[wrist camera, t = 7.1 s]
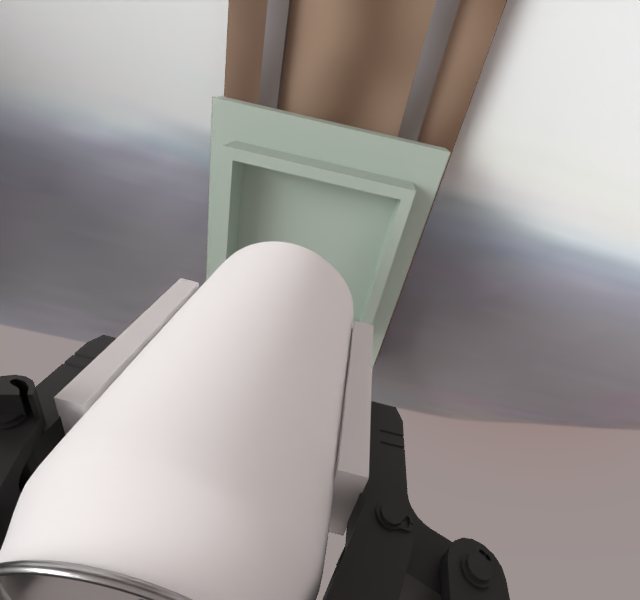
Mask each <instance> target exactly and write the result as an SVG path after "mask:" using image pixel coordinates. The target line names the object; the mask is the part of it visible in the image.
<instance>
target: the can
mask: <svg viewBox="0 0 640 600" xmlns="http://www.w3.org/2000/svg"><path fill="white" fill-rule="evenodd" d="M353 317H354V311H353V300H352V295H351V292H350V290H349V288H348V286H347V284H346V282H345V281H344V279H343V278H342V276H341V275H340V274H339V273H338V272H337V270H336V269H335V268H334V267H333V266H332V265H331V264H329V263H328V262H327V261H326V260H325V259H324V258H322V257H321V256H320V255H318V254H316V253H315V252H313V251H311V250H309V249H307V248H304V247H302V246H299V245H295V244H291V243H286V242H276V241H270V242H261V243H256V244H252V245H249V246H247V247H244V248H242V249H240V250H238V251H237V252H235V253H234V254H233V255H231V256H230V257H229V258H228V259H227V260H226V261H225V262H224V263H223V264H222V265H221V266H220V267H219V268H218V269H217V270H216V271H215V272H214V273H213V274H212V275H211V276H210V277H209V278H208V279H207V281H206V282H205V283H204V284H203V285H202V286H201V287H200V288H199V289H198V290H197V291H196V292H195V293H194V295H193V296H192V297H191V298H190V299H189V300H188V301H187V302H186V303H185V304H184V305H183V307H182V308H181V309H180V310H179V311H178V312H177V313H176V314H175V315H174V316H173V317H172V319H171V320H170V321H169V322H168V323H167V324H166V325H165V326H164V327H163V328H162V329H161V331H160V332H159V333H158V334H157V335H156V336H155V337H154V338H153V339H152V340H151V341H150V343H149V344H148V345H147V346H146V347H145V348H144V349H143V350H142V351H141V352H140V354H139V355H138V356H137V357H136V358H135V359H134V360H133V361H132V362H131V363H130V365H129V366H128V367H127V368H126V369H125V370H124V371H123V372H122V373H121V374H120V376H119V377H118V378H117V379H116V380H115V381H114V382H113V383H112V384H111V385H110V387H109V388H108V389H107V390H106V391H105V392H104V393H103V394H102V395H101V396H100V398H99V399H98V400H97V401H96V402H95V403H94V404H93V405H92V406H91V408H90V409H89V410H88V411H87V412H86V413H85V414H84V415H83V416H82V418H81V419H80V420H79V421H78V422H77V423H76V424H75V425H74V426H73V428H72V429H71V430H70V431H69V432H68V433H67V434H66V435H65V436H64V438H63V439H62V440H61V441H60V442H59V443H58V444H57V446H56V447H55V448H54V449H53V450H52V451H51V453H50V454H49V455H48V456H47V457H46V458H45V459H44V461H43V462H42V463H41V464H40V465H39V466H38V468H37V469H36V470H35V472H34V473H33V474H32V476H31V477H30V478H29V480H28V481H27V483H26V484H25V486H24V488H23V490H22V492H21V495H20V497H19V499H18V502H17V505H16V507H15V510H14V513H13V516H12V519H11V522H10V525H9V528H8V531H7V534H6V537H5V540H4V542H3V545H2V547H1V550H0V600H316V598H317V595H318V592H319V588H320V584H321V579H322V574H323V567H324V560H325V554H326V546H327V540H328V532H329V524H330V516H331V508H332V500H333V492H334V476H335V467H336V459H337V451H338V443H339V434H340V426H341V418H342V410H343V401H344V393H345V385H346V376H347V368H348V359H349V351H350V342H351V334H352V328H353Z"/></svg>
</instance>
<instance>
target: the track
mask: <svg viewBox="0 0 640 600" xmlns="http://www.w3.org/2000/svg"><path fill="white" fill-rule="evenodd" d="M506 2H507V0H229V8H228V29H227V49H226V69H225V89H224V97H227V98H232V99H236V100H240V101H245V102H249V103H253V104H258V105H262V106H266V107H271V108H275V109H279V110H283V111H288V112H292V113H296V114H301V115H305V116H309V117H314V118H318V119H322V120H327V121H331V122H335V123H340V124H344V125H348V126H352V127H357V128H361V129H365V130H370V131H374V132H378V133H383V134H387V135H391V136H396V137H400V138H404V139H409V140H413V141H417V142H421V143H426V144H430V145H434V146H439V147H443V148H446V149H447V150H448V151H450V152H451V153H452V151H453V148H454V145H455V142H456V140H457V137H458V134H459V131H460V129H461V126H462V123H463V120H464V117H465V115H466V112H467V109H468V106H469V104H470V101H471V98H472V95H473V93H474V90H475V87H476V84H477V82H478V79H479V76H480V73H481V71H482V68H483V65H484V62H485V60H486V57H487V54H488V51H489V48H490V46H491V43H492V40H493V37H494V35H495V32H496V29H497V26H498V24H499V21H500V18H501V15H502V13H503V10H504V7H505V4H506ZM451 153H450V155H449V158H448V161H447V164H448V162H449V159H450V156H451ZM447 164H446V166H445V169H444V172H443V175H444V173H445V170H446V167H447ZM443 175H442V178H443ZM442 178H441V180H440V183H439V186H440V184H441V181H442ZM439 186H438V189H439ZM438 189H437V191H436V194H435V197H436V195H437V192H438ZM435 197H434V200H435ZM434 200H433V203H434ZM433 203H432V205H431V208H430V211H431V209H432V206H433ZM430 211H429V214H430ZM429 214H428V216H427V219H426V222H427V220H428V217H429ZM426 222H425V225H426ZM425 225H424V227H423V230H422V233H423V231H424V228H425ZM422 233H421V236H422ZM421 236H420V239H421ZM420 239H419V241H418V244H419V242H420ZM418 244H417V247H418ZM417 247H416V250H417ZM416 250H415V252H414V255H415V253H416ZM414 255H413V258H414ZM413 258H412V261H413ZM412 261H411V264H412ZM411 264H410V266H411ZM410 266H409V269H410ZM409 269H408V272H409ZM408 272H407V275H408ZM407 275H406V277H405V280H406V278H407ZM405 280H404V283H405ZM404 283H403V286H404ZM403 286H402V288H401V291H402V289H403ZM401 291H400V294H401ZM400 294H399V297H400ZM399 297H398V300H399ZM398 300H397V302H398ZM397 302H396V305H397ZM396 305H395V308H396ZM395 308H394V311H395ZM394 311H393V313H394ZM393 313H392V316H393ZM392 316H391V319H392ZM391 319H390V322H391ZM390 322H389V324H390ZM388 327H389V325H388ZM388 327H387V330H388ZM387 330H386V333H387ZM386 333H385V335H386ZM384 338H385V336H384ZM384 338H383V341H384ZM383 341H382V344H383ZM382 344H381V347H382ZM381 347H380V349H381ZM380 349H379V352H380ZM379 352H378V355H379ZM378 355H377V358H378ZM377 358H376V360H377ZM375 363H376V361H375ZM375 363H374V364H375Z"/></svg>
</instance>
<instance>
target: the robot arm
mask: <svg viewBox="0 0 640 600" xmlns="http://www.w3.org/2000/svg"><path fill="white" fill-rule="evenodd" d="M198 289H199V282H195V281H191V280H187V279H182V278H180V279H179V280H178V281H177V282H176V283H175V284H174V285H173V286H172V287H170V288H169V289H168V290H167V291H166V292H165V293H164V294H163V295H162V296H161V297H160V298H159V299H158V300H157V301H156V302H155V303H154V304H152V305H151V306H150V307H149V308H148V309H147V310H146V311H145V312H144V313H143V314H142V315H141V316H140V317H139V318H138V319H137V320H135V321H134V322H133V323H132V324H131V325H130V326H129V327H128V328H127V329H126V330H125V331H124V332H123V333H122V334H121V335H120V336H118V337H117V338H114V337H110V336H106V335H102V336H100V337H98V338H96V339H94V340H92V341H89V342H87V343H86V344H85V345H84V346H83V347H82V348H80V349H79V350H78V351H77V352H76V353H75V355H72V356H71V357H70V358H69V359H68V360H66V361H65V363H64V364H62V365H61V366H60V367H58V368H57V369H56V370H55V371H54V372H52V373H51V374H50V375H49V376H48V377H47V378H45V379H44V380H43V381H42V382H41V383H40V384H38V385H37V386H36V387H35V385H34V382H33V381H32V380H31V379H29V378H27V377H25V376H18V375H9V376H1V377H0V550H1V547H2V545H3V542H4V540H5V537H6V534H7V531H8V528H9V525H10V522H11V519H12V516H13V513H14V510H15V507H16V505H17V502H18V499H19V497H20V495H21V492H22V490H23V488H24V486H25V484H26V483H27V481H28V480H29V478H30V477H31V476H32V474H33V473H34V472H35V470H36V469H37V468H38V466H39V465H40V464H41V463H42V462H43V461H44V459H45V458H46V457H47V456H48V455H49V454H50V453H51V451H52V450H53V449H54V448H55V447H56V446H57V444H58V443H59V442H60V441H61V440H62V439H63V438H64V436H65V435H66V434H67V433H68V432H69V431H70V430H71V429H72V428H73V426H74V425H75V424H76V423H77V422H78V421H79V420H80V419H81V418H82V416H83V415H84V414H85V413H86V412H87V411H88V410H89V409H90V408H91V406H92V405H93V404H94V403H95V402H96V401H97V400H98V399H99V398H100V396H101V395H102V394H103V393H104V392H105V391H106V390H107V389H108V388H109V387H110V385H111V384H112V383H113V382H114V381H115V380H116V379H117V378H118V377H119V376H120V374H121V373H122V372H123V371H124V370H125V369H126V368H127V367H128V366H129V365H130V363H131V362H132V361H133V360H134V359H135V358H136V357H137V356H138V355H139V354H140V352H141V351H142V350H143V349H144V348H145V347H146V346H147V345H148V344H149V343H150V341H151V340H152V339H153V338H154V337H155V336H156V335H157V334H158V333H159V332H160V331H161V329H162V328H163V327H164V326H165V325H166V324H167V323H168V322H169V321H170V320H171V319H172V317H173V316H174V315H175V314H176V313H177V312H178V311H179V310H180V309H181V308H182V307H183V305H184V304H185V303H186V302H187V301H188V300H189V299H190V298H191V297H192V296H193V295H194V293H195V292H196V291H197V290H198ZM372 357H373V325H370V324H366V323H362V322H357V321H355V322H354V325H353V328H352V334H351V342H350V351H349V359H348V368H347V376H346V385H345V393H344V401H343V410H342V418H341V426H340V434H339V443H338V451H337V459H336V467H335V476H334V492H333V500H332V508H331V516H330V524H329V532H332V533H336V534H340V535H344V532H345V530H346V528H347V532H346V545H345V547H344V550H343V552H342V554H341V556H340V558H339V560H338V563H337V564H336V565H337V566H336V568H335V571H334V573H333V576H332V578H331V581H330V583H329V585H328V588H327V590H326V592H325V595H324V597H323V600H510V599H509V593H508V588H507V583H506V578H505V575H504V573H503V569H502V567H501V565H500V564H499V562H498V560H497V559H496V557H495V556H494V554H493V553H492V552H490V551H489V550H488V549H487V548H486V547H485V546H484V545H483V544H481V543H479V542H477V541H475V540H473V539H468V538H461V539H458V540H455V541H454V542H451V541H450V540H448V539H446V538H445V537H443V536H441V535H440V534H438V533H437V532H435V531H433V530H432V529H430V528H429V527H428V526H426V525H425V524H424V523H423V522H422V521H421V520H420V519H419V518H418V517H417V515H416V514H415V512H414V511H413V509H412V507H411V505H410V503H409V500H408V494H407V480H406V466H405V450H404V438H403V421H402V419H401V417H400V415H399V413H398V411H397V409H396V407H392V406H388V405H384V404H381V403H377V402H373V401H371V389H372Z"/></svg>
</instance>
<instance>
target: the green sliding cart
mask: <svg viewBox="0 0 640 600" xmlns="http://www.w3.org/2000/svg"><path fill="white" fill-rule="evenodd" d="M450 153H451V152H450V151H448V150H447V149H446V148H443V147H439V146H434V145H430V144H426V143H421V142H417V141H413V140H409V139H404V138H400V137H396V136H391V135H387V134H383V133H378V132H374V131H370V130H365V129H361V128H357V127H352V126H348V125H344V124H340V123H335V122H331V121H327V120H322V119H318V118H314V117H309V116H305V115H301V114H296V113H292V112H288V111H283V110H279V109H275V108H271V107H266V106H262V105H258V104H253V103H249V102H245V101H240V100H236V99H232V98H227V97H212V125H211V153H210V182H209V211H208V239H207V268H206V281H207V279H208V278H209V277H210V276H211V275H212V274H213V273H214V272H215V271H216V270H217V269H218V268H219V267H220V266H221V265H222V264H223V263H224V262H225V261H226V260H227V259H228V258H229V257H230V256H231V255H233V254H234V253H235V252H237V251H238V250H240V249H242V248H244V247H247V246H249V245H252V244H256V243H261V242H270V241H276V242H286V243H291V244H295V245H299V246H302V247H304V248H307V249H309V250H311V251H313V252H315V253H316V254H318V255H320V256H321V257H322V258H324V259H325V260H326V261H327V262H328V263H329V264H331V265H332V266H333V267H334V268H335V269H336V270H337V272H338V273H339V274H340V275H341V276H342V278H343V279H344V281H345V282H346V284H347V286H348V288H349V290H350V292H351V295H352V300H353V311H354V317H353V325H354V322H355V321H357V322H362V323H366V324H370V325H373V357H372V369H373V366H374V363H375V361H376V358H377V355H378V352H379V349H380V347H381V344H382V341H383V338H384V336H385V333H386V330H387V327H388V325H389V322H390V319H391V316H392V313H393V311H394V308H395V305H396V302H397V300H398V297H399V294H400V291H401V288H402V286H403V283H404V280H405V277H406V275H407V272H408V269H409V266H410V264H411V261H412V258H413V255H414V252H415V250H416V247H417V244H418V241H419V239H420V236H421V233H422V230H423V227H424V225H425V222H426V219H427V216H428V214H429V211H430V208H431V205H432V203H433V200H434V197H435V194H436V191H437V189H438V186H439V183H440V180H441V178H442V175H443V172H444V169H445V166H446V164H447V161H448V158H449V155H450Z"/></svg>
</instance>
